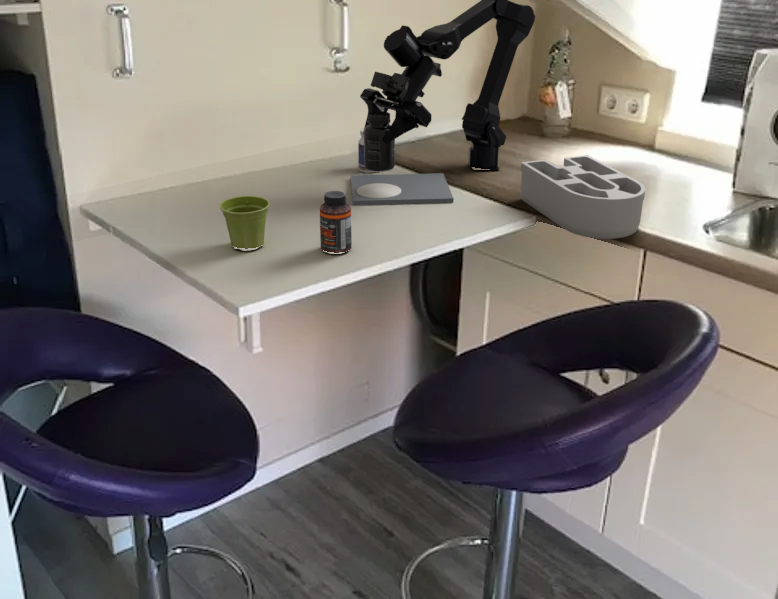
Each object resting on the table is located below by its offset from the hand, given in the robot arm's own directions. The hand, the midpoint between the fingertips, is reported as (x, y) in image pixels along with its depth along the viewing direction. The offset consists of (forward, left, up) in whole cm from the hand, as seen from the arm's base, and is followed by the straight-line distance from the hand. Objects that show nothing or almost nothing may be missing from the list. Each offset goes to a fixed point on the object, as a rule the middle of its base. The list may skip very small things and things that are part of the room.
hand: (374, 139), depth 187 cm
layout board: (-6, -4, -13) cm, 15 cm away
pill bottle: (0, -20, -13) cm, 24 cm away
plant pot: (+26, +27, -13) cm, 40 cm away
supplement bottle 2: (-1, -1, -7) cm, 7 cm away
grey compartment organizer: (-43, +15, -14) cm, 48 cm away
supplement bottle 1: (+9, +30, -13) cm, 34 cm away
